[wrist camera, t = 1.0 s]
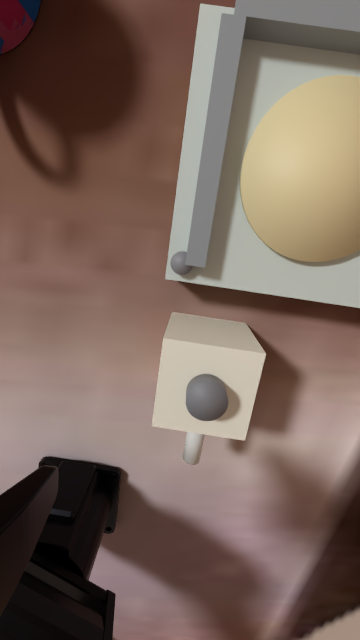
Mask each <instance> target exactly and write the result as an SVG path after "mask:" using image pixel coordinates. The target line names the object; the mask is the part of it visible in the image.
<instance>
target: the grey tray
mask: <svg viewBox="0 0 360 640" xmlns="http://www.w3.org/2000/svg"><path fill="white" fill-rule="evenodd" d="M165 279H169V280H176V281H183V282H189V283H196V284H203V285H209V286H216V287H223V288H229V289H236V290H243V291H249V292H256V293H263V294H269V295H276V296H283V297H289V298H296V299H303V300H309V301H316V302H323V303H329V304H336V305H343V306H349V307H356V308H360V0H236V4H235V8H229V7H222V6H215V5H207V4H200V10H199V18H198V26H197V34H196V42H195V49H194V57H193V65H192V73H191V81H190V89H189V96H188V104H187V112H186V120H185V128H184V136H183V143H182V151H181V159H180V167H179V175H178V183H177V190H176V198H175V206H174V214H173V222H172V230H171V237H170V245H169V253H168V261H167V269H166V277H165Z"/></svg>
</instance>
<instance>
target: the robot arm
mask: <svg viewBox="0 0 360 640" xmlns="http://www.w3.org/2000/svg"><path fill="white" fill-rule="evenodd" d="M113 474H115V475H113ZM120 480H121V471H120V469H118V468H116V467H109V466H103V465H97V464H90V463H84V462H78V461H71V460H65V459H59V458H52V457H43V458H42V460H41V461H40V462H39V468H38V469H37V470H35V471H34V472H33V473H31V474H30V475H28V476H27V477H25V478H24V479H23V480H21V481H20V482H18V483H17V484H15V485H14V486H13V487H11V488H10V489H8V490H7V491H5V492H4V493H3V494H1V495H0V640H112V635H113V621H114V607H115V593H113V592H111V591H110V590H107V591H106V590H104V589H102V588H101V587H99V586H97V585H95V584H94V583H92V582H90V581H88V580H89V577H90V574H91V571H92V568H93V565H94V561H95V558H96V555H97V552H98V549H99V546H100V543H101V539H102V536H103V533H109V534H110V533H113V532H114V530H115V526H116V519H117V509H118V500H119V490H120Z"/></svg>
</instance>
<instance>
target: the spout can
mask: <svg viewBox="0 0 360 640" xmlns="http://www.w3.org/2000/svg"><path fill="white" fill-rule="evenodd" d="M265 357H266V353H265V351H264V350H263V348H262V347H261V345H260V344H259V342H258V341H257V339H256V338H255V336H254V335H253V333H252V332H251V330H250V329H249V327H248V326H247V324H246V323H243V322H236V321H229V320H223V319H216V318H210V317H203V316H196V315H190V314H183V313H176V312H172V314H171V317H170V320H169V323H168V326H167V329H166V332H165V335H164V338H163V345H162V352H161V360H160V367H159V375H158V382H157V390H156V397H155V405H154V412H153V420H152V426H153V427H160V428H166V429H173V430H179V431H185V432H187V436H186V441H185V447H184V453H183V460H184V461H185V462H186V463H188V464H191V465H195V464H197V463H198V462H199V460H200V455H201V450H202V445H203V440H204V435H211V436H217V437H224V438H230V439H237V440H243V441H245V438H246V434H247V430H248V426H249V422H250V418H251V414H252V410H253V406H254V402H255V397H256V393H257V389H258V385H259V381H260V377H261V373H262V369H263V365H264V361H265Z"/></svg>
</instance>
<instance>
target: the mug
mask: <svg viewBox="0 0 360 640" xmlns="http://www.w3.org/2000/svg"><path fill="white" fill-rule="evenodd" d="M40 2H41V0H0V54H3V53H5V52H8V51H10V50H12V49H13V48H15V47H16V46H17V45H19V44H20V43H21V42H22V41H23V40H24V39H25V37H26V36H27V35H28V34H29V32H30V30H31V28H32V27H33V25H34V23H35V20H36V17H37V15H38V11H39V6H40Z"/></svg>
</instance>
